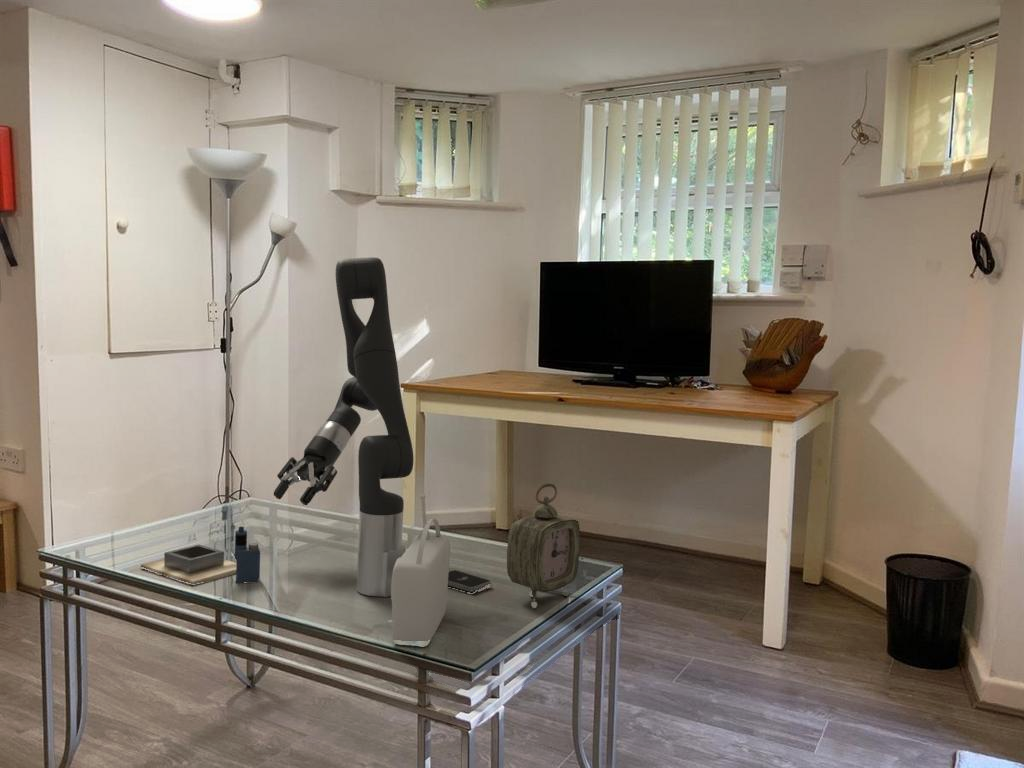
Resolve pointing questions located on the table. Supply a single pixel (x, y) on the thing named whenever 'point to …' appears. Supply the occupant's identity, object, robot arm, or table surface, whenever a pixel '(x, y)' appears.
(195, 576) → the mounting board
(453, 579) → the external hard drive
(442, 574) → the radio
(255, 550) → the vaping device
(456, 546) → the table surface
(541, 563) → the tabletop clock
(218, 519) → the table surface
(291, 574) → the table surface
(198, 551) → the square socket
